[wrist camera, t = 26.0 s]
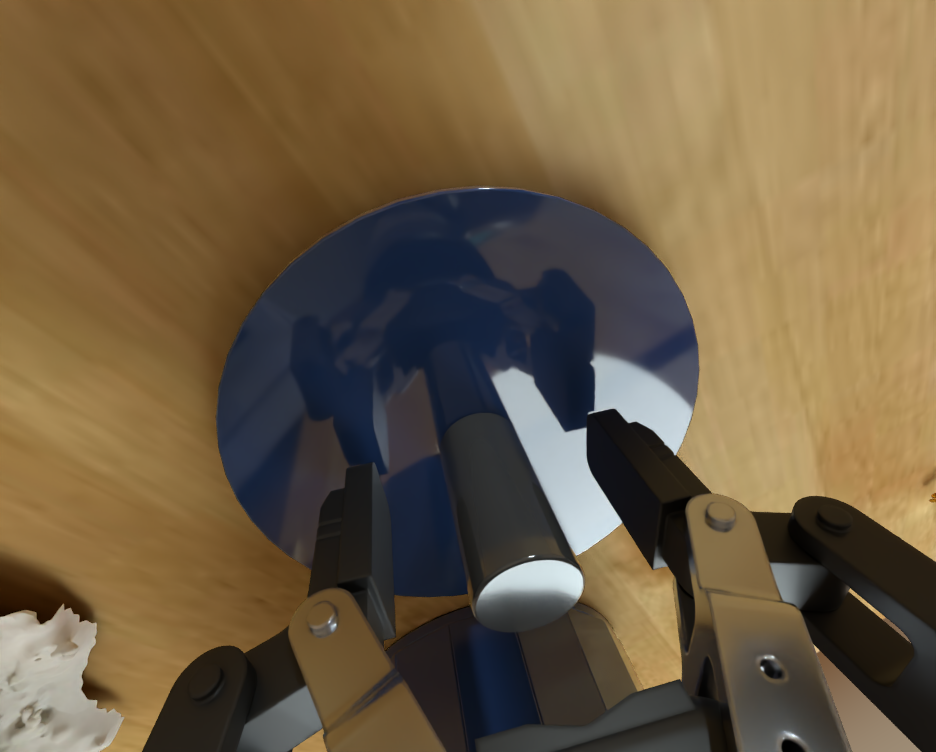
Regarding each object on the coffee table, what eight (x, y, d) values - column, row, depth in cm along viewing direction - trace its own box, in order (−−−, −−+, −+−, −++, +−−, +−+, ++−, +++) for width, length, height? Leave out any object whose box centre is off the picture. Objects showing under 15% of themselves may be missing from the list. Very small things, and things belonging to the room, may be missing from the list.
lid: (708, 140, 11) (1009, 147, 6) (657, 522, 18) (771, 678, 13) (121, 238, 10) (-175, 361, 4) (316, 608, 17) (290, 823, 12)
